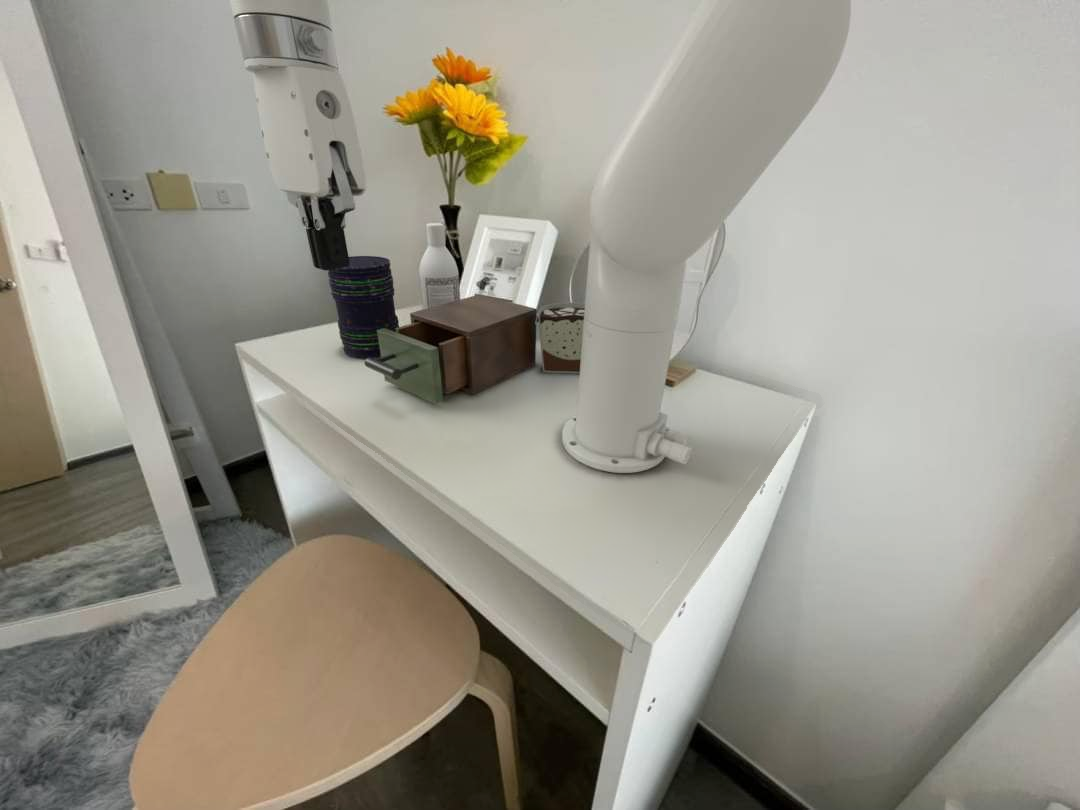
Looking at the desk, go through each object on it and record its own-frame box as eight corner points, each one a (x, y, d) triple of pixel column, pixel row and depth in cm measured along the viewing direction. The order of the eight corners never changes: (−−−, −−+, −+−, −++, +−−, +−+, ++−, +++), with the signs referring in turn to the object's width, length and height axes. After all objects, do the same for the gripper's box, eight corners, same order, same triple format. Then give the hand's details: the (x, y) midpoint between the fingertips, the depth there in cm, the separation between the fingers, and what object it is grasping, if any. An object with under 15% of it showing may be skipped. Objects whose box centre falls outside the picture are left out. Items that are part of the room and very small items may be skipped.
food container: (606, 359, 76) (612, 302, 71) (610, 374, 70) (617, 314, 66) (535, 357, 76) (536, 300, 71) (533, 371, 71) (535, 311, 66)
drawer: (410, 416, 55) (402, 360, 52) (359, 390, 61) (348, 337, 58) (503, 372, 68) (503, 324, 64) (453, 354, 74) (449, 309, 70)
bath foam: (469, 336, 84) (463, 225, 75) (436, 343, 80) (425, 227, 71) (451, 326, 89) (443, 220, 79) (419, 333, 85) (407, 222, 75)
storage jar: (330, 355, 74) (310, 265, 67) (363, 336, 83) (349, 254, 75) (384, 362, 72) (369, 270, 65) (412, 341, 81) (401, 258, 74)
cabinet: (473, 395, 63) (469, 332, 58) (416, 371, 69) (409, 312, 65) (535, 364, 73) (536, 308, 68) (481, 346, 80) (479, 294, 75)
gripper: (378, 53, 37) (404, 272, 46) (291, 69, 45) (328, 254, 54) (288, 33, 32) (338, 285, 41) (208, 55, 40) (264, 262, 49)
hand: (332, 267), depth 47 cm, fingers closed
